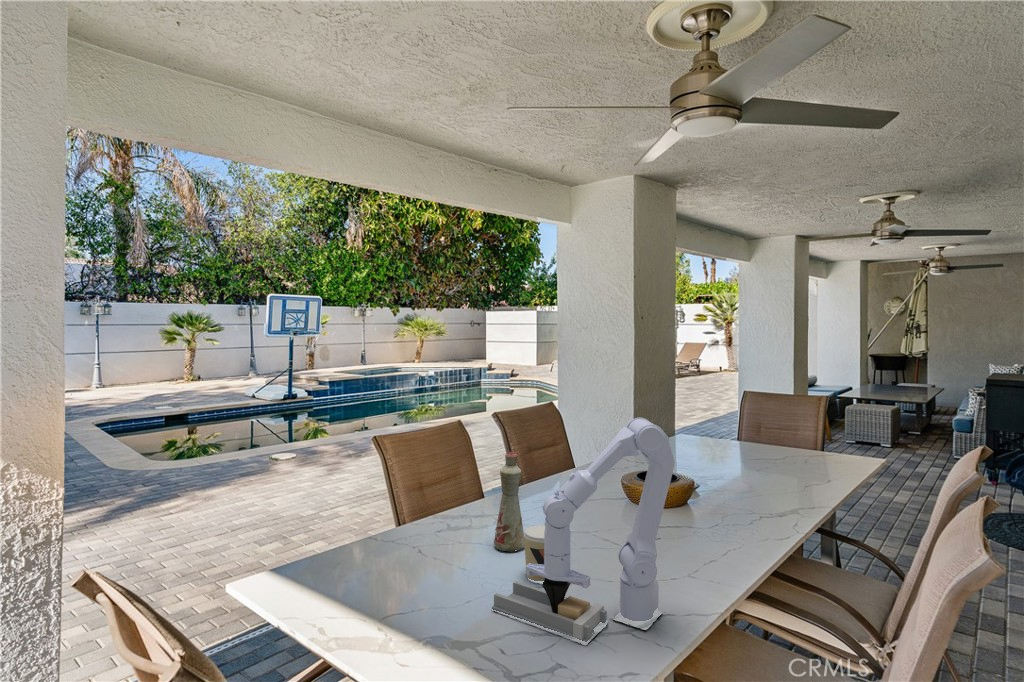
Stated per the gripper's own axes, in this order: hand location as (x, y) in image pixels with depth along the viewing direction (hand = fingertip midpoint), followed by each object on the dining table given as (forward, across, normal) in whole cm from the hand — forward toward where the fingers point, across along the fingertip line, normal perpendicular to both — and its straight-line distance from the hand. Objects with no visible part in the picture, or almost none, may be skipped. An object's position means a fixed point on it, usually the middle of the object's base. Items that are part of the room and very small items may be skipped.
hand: (556, 612), depth 126 cm
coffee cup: (+2, +12, -18) cm, 21 cm away
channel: (+2, +2, 0) cm, 3 cm away
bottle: (+2, +28, -31) cm, 42 cm away
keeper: (+1, -4, +1) cm, 4 cm away
